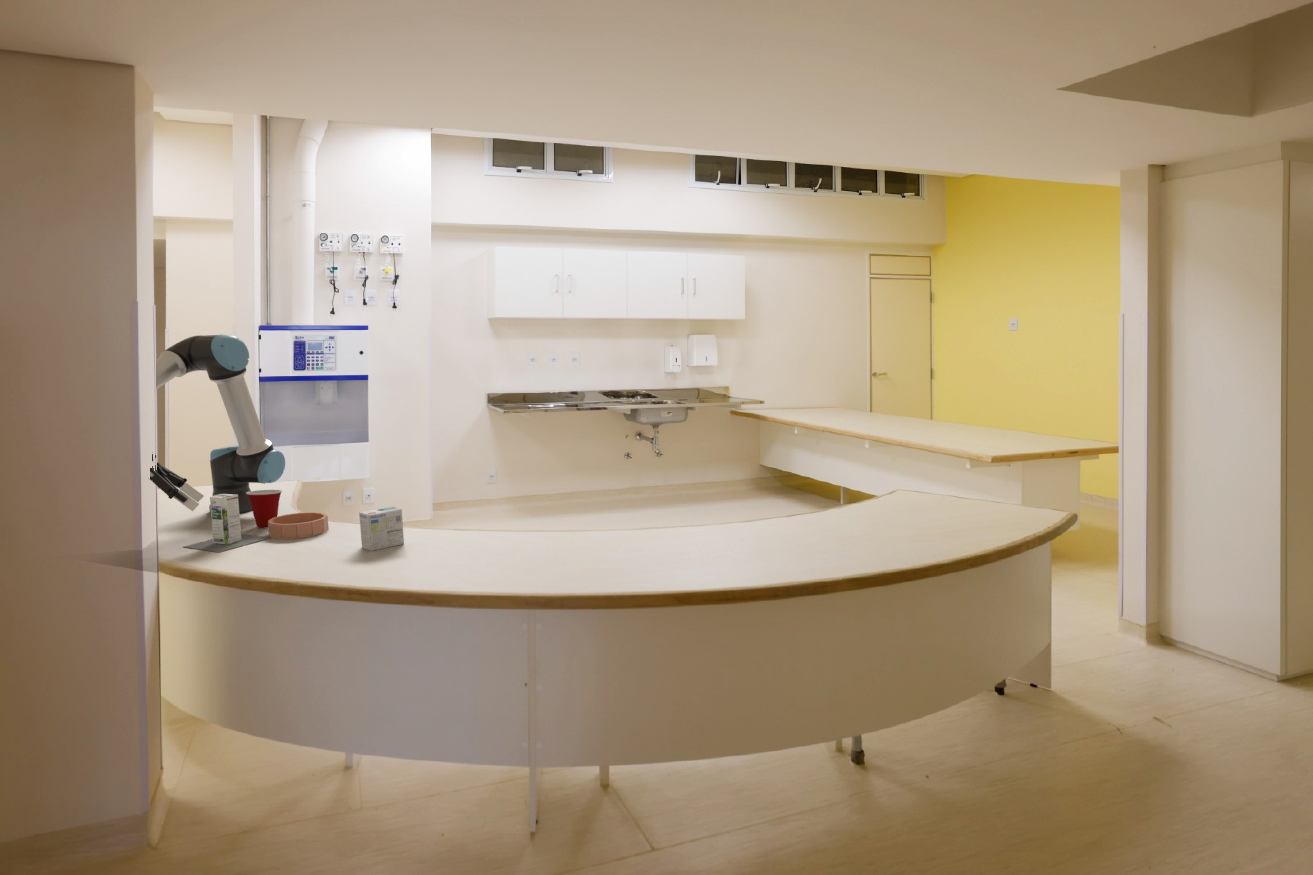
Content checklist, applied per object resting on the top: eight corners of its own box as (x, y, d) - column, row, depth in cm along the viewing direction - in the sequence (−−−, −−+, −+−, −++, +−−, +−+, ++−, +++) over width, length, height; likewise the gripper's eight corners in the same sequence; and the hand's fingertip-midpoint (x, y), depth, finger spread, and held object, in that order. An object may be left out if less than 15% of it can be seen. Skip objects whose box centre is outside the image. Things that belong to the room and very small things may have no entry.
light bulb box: (394, 540, 260) (391, 505, 259) (405, 544, 256) (402, 508, 254) (360, 547, 253) (358, 511, 252) (371, 551, 248) (368, 515, 247)
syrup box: (212, 543, 260) (208, 496, 258) (228, 539, 266) (224, 492, 264) (227, 545, 258) (222, 497, 256) (242, 540, 264) (238, 493, 262)
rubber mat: (235, 533, 274) (235, 532, 274) (271, 538, 267) (271, 537, 267) (183, 547, 258) (183, 546, 258) (219, 552, 251) (219, 551, 251)
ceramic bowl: (301, 523, 285) (300, 510, 284) (339, 528, 278) (338, 514, 277) (257, 535, 270) (256, 521, 269) (296, 540, 262) (295, 526, 262)
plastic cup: (291, 522, 288) (288, 487, 286) (274, 530, 277) (271, 493, 276) (260, 522, 289) (257, 487, 287) (242, 530, 278) (238, 493, 277)
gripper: (133, 461, 260) (193, 505, 268) (117, 473, 237) (184, 521, 245) (152, 442, 262) (211, 486, 269) (138, 453, 239) (203, 501, 246)
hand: (198, 503), depth 257 cm, fingers open, 13 cm apart
